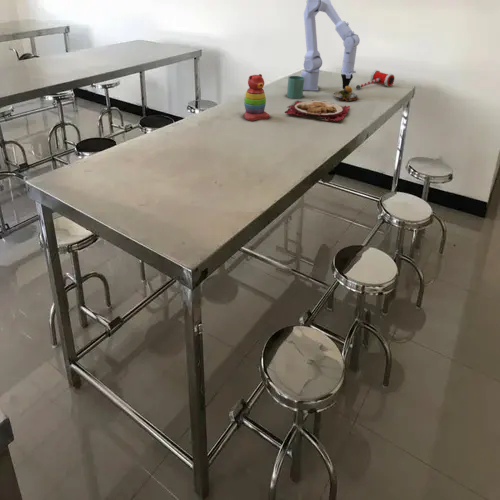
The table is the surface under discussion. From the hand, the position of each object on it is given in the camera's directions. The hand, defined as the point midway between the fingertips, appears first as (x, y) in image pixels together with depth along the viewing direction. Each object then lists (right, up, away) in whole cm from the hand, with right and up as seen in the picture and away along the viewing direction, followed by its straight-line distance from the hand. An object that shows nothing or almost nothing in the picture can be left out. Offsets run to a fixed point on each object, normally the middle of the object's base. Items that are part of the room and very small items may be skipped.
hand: (345, 89), depth 245 cm
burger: (-1, -5, -2) cm, 6 cm away
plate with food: (-17, -18, -22) cm, 33 cm away
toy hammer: (+20, +8, +19) cm, 29 cm away
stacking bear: (-46, -22, -30) cm, 59 cm away
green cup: (-26, -4, -2) cm, 26 cm away
